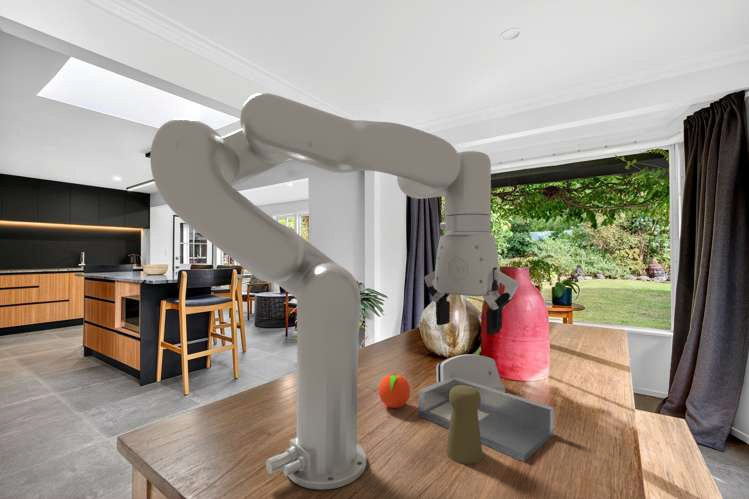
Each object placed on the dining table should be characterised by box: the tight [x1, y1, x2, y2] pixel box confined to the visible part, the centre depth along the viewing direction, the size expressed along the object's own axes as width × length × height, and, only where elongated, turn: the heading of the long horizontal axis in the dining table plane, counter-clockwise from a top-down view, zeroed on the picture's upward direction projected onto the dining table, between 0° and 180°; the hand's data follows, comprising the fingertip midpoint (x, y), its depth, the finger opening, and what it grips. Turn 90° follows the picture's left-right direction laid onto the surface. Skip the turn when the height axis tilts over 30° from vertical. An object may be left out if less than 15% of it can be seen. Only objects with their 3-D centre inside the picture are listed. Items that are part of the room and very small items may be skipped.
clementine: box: [378, 373, 411, 409], centre depth 77 cm, size 8×7×7 cm
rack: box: [417, 376, 555, 463], centre depth 70 cm, size 13×22×5 cm, turn 44°
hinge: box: [436, 353, 507, 393], centre depth 88 cm, size 17×5×10 cm, turn 108°
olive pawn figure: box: [445, 385, 484, 465], centre depth 60 cm, size 6×6×11 cm
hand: (466, 328), depth 60 cm, fingers open, 9 cm apart
